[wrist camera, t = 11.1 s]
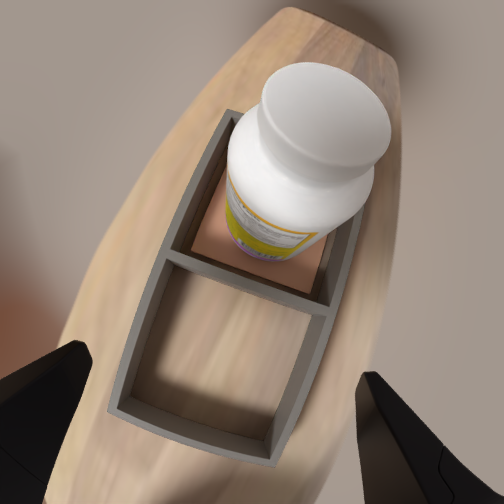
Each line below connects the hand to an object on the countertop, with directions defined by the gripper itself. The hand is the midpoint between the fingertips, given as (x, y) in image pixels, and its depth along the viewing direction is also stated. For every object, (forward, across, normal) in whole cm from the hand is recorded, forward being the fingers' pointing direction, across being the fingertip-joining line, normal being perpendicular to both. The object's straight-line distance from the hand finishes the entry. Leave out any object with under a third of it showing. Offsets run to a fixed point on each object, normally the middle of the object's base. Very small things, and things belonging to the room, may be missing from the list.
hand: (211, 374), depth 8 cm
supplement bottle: (+15, -1, 0) cm, 15 cm away
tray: (+12, 0, +4) cm, 12 cm away
